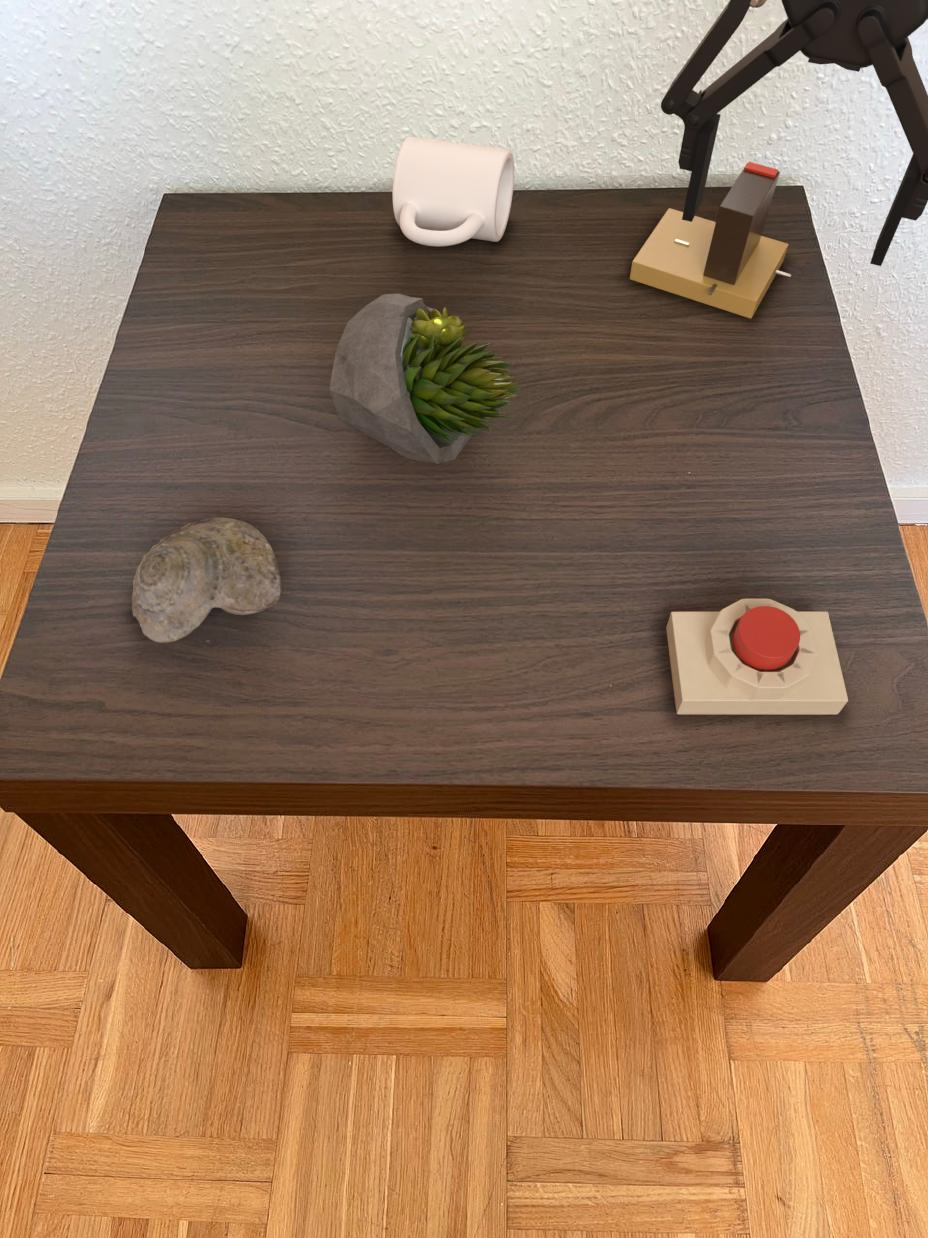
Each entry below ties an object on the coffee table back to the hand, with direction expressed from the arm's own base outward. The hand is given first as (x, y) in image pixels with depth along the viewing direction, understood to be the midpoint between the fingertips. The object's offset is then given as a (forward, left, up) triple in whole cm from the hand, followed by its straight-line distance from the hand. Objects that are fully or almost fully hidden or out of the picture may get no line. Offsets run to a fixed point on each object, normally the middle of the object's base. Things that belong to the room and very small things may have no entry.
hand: (783, 231), depth 66 cm
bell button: (-10, +26, -11) cm, 30 cm away
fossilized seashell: (+27, +39, -15) cm, 50 cm away
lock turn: (+6, -13, -13) cm, 19 cm away
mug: (+32, -6, -15) cm, 35 cm away
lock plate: (+8, -13, -15) cm, 21 cm away
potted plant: (+21, +16, -15) cm, 30 cm away
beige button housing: (-10, +26, -15) cm, 32 cm away
